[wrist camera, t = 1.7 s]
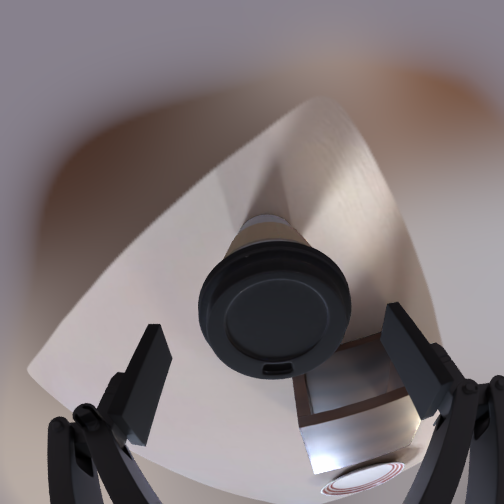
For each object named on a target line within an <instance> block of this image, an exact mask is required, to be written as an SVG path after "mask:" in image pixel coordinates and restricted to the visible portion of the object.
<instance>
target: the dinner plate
mask: <svg viewBox="0 0 504 504" xmlns="http://www.w3.org/2000/svg"><path fill="white" fill-rule="evenodd" d="M404 467H405V465H404V463H402V462H391V463H381V464H374V465H370V466H366V467H363V468H360V469H357V470H354V471H351V472H349V473H347V474H345V475H343V476H341V477H339V478H337V479H335V480H334V481H332V482H330V483H329V484H327V485H326V486H324V487H323V488H322V490H321V493H322V494H324V495H328V496H341V495H348V494H353V493H357V492H361V491H364V490H367V489H370V488H373V487H375V486H378V485H380V484H382V483H384V482H386V481H388V480H390V479H392V478H393V477H395V476H396V475H397V474H399V473H400V472H401V471H402V470H403V469H404Z"/></svg>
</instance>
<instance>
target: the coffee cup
mask: <svg viewBox="0 0 504 504" xmlns="http://www.w3.org/2000/svg"><path fill="white" fill-rule="evenodd" d="M198 311H199V314H198V315H199V323H200V327H201V331H202V333H203V335H204V337H205V339H206V341H207V342H208V344H209V345H210V346H211V348H212V349H213V351H214V353H215V354H216V355H217V357H218V358H219V359H220V360H221V361H222V362H223V363H224V364H226V365H227V366H228V367H230V368H231V369H233V370H235V371H237V372H239V373H241V374H244V375H246V376H250V377H254V378H259V379H270V380H275V379H286V378H291V377H295V376H299V375H302V374H304V373H307V372H309V371H311V370H313V369H315V368H317V367H318V366H320V365H321V364H323V363H324V362H325V361H326V360H327V359H329V358H330V357H331V356H332V354H333V353H334V352H335V351H336V350H337V348H338V347H339V345H340V343H341V341H342V339H343V337H344V334H345V331H346V329H347V326H348V324H349V320H350V316H351V297H350V292H349V287H348V284H347V281H346V279H345V276H344V275H343V273H342V271H341V270H340V268H339V267H338V266H337V265H336V264H335V262H333V261H332V260H331V259H330V258H329V257H328V256H326V255H325V254H324V253H322V252H320V251H318V250H316V249H314V248H312V247H311V246H310V244H309V243H308V242H307V241H306V240H305V239H304V238H303V236H302V235H301V234H300V233H299V232H298V231H297V230H296V229H294V228H292V227H291V226H290V224H289V223H288V222H287V221H286V220H284V219H283V218H281V217H279V216H276V215H259V216H256V217H253V218H251V219H249V220H248V221H247V222H246V223H245V224H244V225H243V226H242V228H241V229H240V231H239V233H238V235H236V237H235V238H234V240H233V241H232V243H231V245H230V247H229V249H228V251H227V253H226V255H225V257H224V259H223V260H222V261H221V262H220V263H218V264H217V265H216V266H215V267H214V268H213V270H212V271H211V272H210V274H209V275H208V277H207V278H206V280H205V282H204V284H203V286H202V289H201V291H200V296H199V302H198Z"/></svg>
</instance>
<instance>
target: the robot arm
mask: <svg viewBox="0 0 504 504" xmlns="http://www.w3.org/2000/svg"><path fill="white" fill-rule="evenodd" d="M380 341H381V343H382V344H383V346H384V348H385V350H386V352H387V354H388V355H389V357H390V359H391V361H392V363H393V365H394V367H395V369H396V371H397V372H398V374H399V376H400V378H401V380H402V382H403V384H404V386H405V388H406V390H407V392H408V394H409V396H410V398H411V400H412V402H413V404H414V406H415V408H416V411H417V413H418V415H419V417H420V419H421V420H424V419H426V418H429V417H431V416H434V414H435V412H436V411H437V409H438V410H439V412H440V415H439V416H438V418H437V419H436V421H435V422H434V424H433V426H435V424H436V426H435V429H434V432H433V435H432V438H431V441H430V444H429V446H428V449H427V452H426V454H425V457H424V459H423V462H422V464H421V466H420V469H419V471H418V473H417V475H416V478H415V480H414V482H413V484H412V486H411V488H410V491H409V492H408V494H407V496H406V498H405V500H404V502H403V504H451V502H452V499H453V497H454V495H455V492H456V489H457V487H458V484H459V481H460V478H461V475H462V472H463V468H464V465H465V462H466V458H467V455H468V451H469V447H470V462H469V477H468V486H467V494H466V501H465V504H504V377H503V376H501V375H497V376H494V377H493V378H492V380H491V381H490V383H486V384H477V383H476V382H475V381H474V380H471V379H465V378H464V376H463V375H462V373H461V372H460V371H459V369H458V368H457V366H456V365H455V363H454V362H453V361H452V360H451V358H450V356H449V355H448V354H447V352H446V351H445V349H444V348H443V347H442V346H440V345H439V344H437V343H433V344H430V343H429V342H428V341H427V339H426V338H425V337H424V335H423V334H422V332H421V331H420V330H419V328H418V327H417V326H416V324H415V323H414V322H413V320H412V319H411V318H410V316H409V315H408V314H407V313H406V311H405V310H404V309H403V307H402V306H401V305H400V304H399V302H394V303H389V304H387V307H386V313H385V318H384V323H383V328H382V332H381V337H380ZM171 361H172V356H171V353H170V351H169V348H168V345H167V342H166V339H165V336H164V334H163V331H162V328H161V325H160V324H148V326H147V328H146V330H145V332H144V334H143V336H142V338H141V340H140V342H139V344H138V346H137V348H136V350H135V352H134V354H133V356H132V359H131V361H130V363H129V365H128V367H127V369H126V371H125V373H121V372H117V373H116V374H115V375H114V376H113V377H112V378H111V380H110V382H109V384H108V387H107V388H106V390H105V393H104V394H103V397H102V399H101V401H100V403H99V405H98V407H97V409H96V408H95V406H94V405H92V404H89V403H85V404H81V405H79V406H78V407H77V408H76V409H75V410H74V412H73V419H74V421H75V422H74V423H69V422H68V421H67V419H66V418H64V417H56V418H54V419H53V420H51V422H50V423H49V427H48V452H47V453H48V454H47V455H48V482H49V495H50V503H51V504H104V503H103V499H102V494H101V489H100V484H99V479H98V473H99V475H100V477H101V480H102V482H103V484H104V486H105V488H106V490H107V492H108V494H109V496H110V498H111V500H112V502H113V504H162V502H161V501H160V500H159V498H158V497H157V495H156V494H155V492H154V491H153V489H152V488H151V486H150V485H149V483H148V481H147V480H146V478H145V477H144V475H143V473H142V472H141V470H140V469H139V467H138V465H137V463H136V462H135V460H134V458H133V456H132V455H131V453H130V451H129V449H128V447H127V446H126V445H125V443H126V440H127V439H128V440H129V441H130V442H131V444H134V445H140V446H146V444H147V440H148V436H149V433H150V429H151V426H152V422H153V419H154V416H155V412H156V409H157V406H158V402H159V399H160V396H161V393H162V389H163V386H164V383H165V380H166V377H167V373H168V370H169V367H170V364H171ZM97 471H98V473H97Z"/></svg>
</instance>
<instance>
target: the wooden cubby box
mask: <svg viewBox="0 0 504 504" xmlns="http://www.w3.org/2000/svg"><path fill="white" fill-rule="evenodd" d="M380 337H381V332H380V333H377V334H374V335H371V336H368V337H365V338H362V339H358V340H355V341H352V342H348V343H345V344H341V345H339V347H338V348H337V350H336V351H335V352H334V353H333V354H332V356H331V357H330V358H329V359H327V360H326V361H325V362H324V363H323V364H321V365H320V366H318V367H317V368H315V369H313V370H311V371H309V372H307V373H304V374H302V375H299V376H295V377H292V380H293V387H294V394H295V401H296V409H297V416H298V424H299V429H300V432H301V435H302V438H303V441H304V444H305V447H306V450H307V453H308V456H309V459H310V462H311V465H312V468H313V471H314V474H317V473H322V472H326V471H331V470H335V469H339V468H343V467H347V466H350V465H354V464H357V463H361V462H364V461H367V460H371V459H374V458H377V457H380V456H383V455H385V454H388V453H391V452H394V451H396V450H399V449H401V448H404V447H406V446H409V445H410V444H411V442H412V440H413V438H414V435H415V433H416V431H417V429H418V426H419V424H420V422H421V419H420V417H419V415H418V413H417V411H416V408H415V406H414V404H413V402H412V400H411V398H410V396H409V394H408V392H407V390H406V388H405V386H404V384H403V382H402V380H401V378H400V376H399V374H398V372H397V371H396V369H395V367H394V365H393V363H392V361H391V359H390V357H389V355H388V354H387V352H386V350H385V348H384V346H383V344H382V343H381V341H380Z"/></svg>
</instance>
